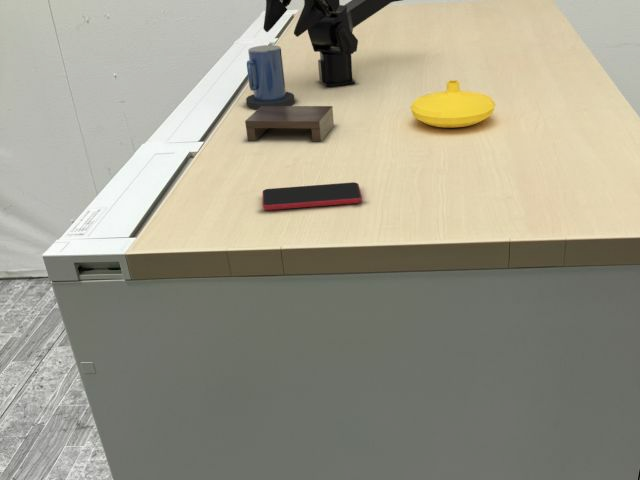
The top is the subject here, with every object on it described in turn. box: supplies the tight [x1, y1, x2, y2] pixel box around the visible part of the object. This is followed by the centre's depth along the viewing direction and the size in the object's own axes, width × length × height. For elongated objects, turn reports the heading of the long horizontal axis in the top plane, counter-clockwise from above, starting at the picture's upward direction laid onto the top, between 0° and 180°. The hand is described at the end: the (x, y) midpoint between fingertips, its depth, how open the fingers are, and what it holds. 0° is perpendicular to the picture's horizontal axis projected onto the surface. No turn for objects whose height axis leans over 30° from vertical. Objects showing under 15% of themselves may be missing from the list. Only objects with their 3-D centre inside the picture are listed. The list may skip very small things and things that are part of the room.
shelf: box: [244, 105, 335, 143], centre depth 153 cm, size 10×14×4 cm
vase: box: [410, 79, 496, 128], centre depth 152 cm, size 16×16×7 cm
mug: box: [246, 44, 287, 101], centre depth 167 cm, size 8×7×9 cm
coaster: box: [245, 91, 296, 111], centre depth 171 cm, size 10×10×1 cm
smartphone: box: [262, 182, 363, 211], centre depth 126 cm, size 7×1×15 cm
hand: (280, 32), depth 166 cm, fingers open, 9 cm apart
